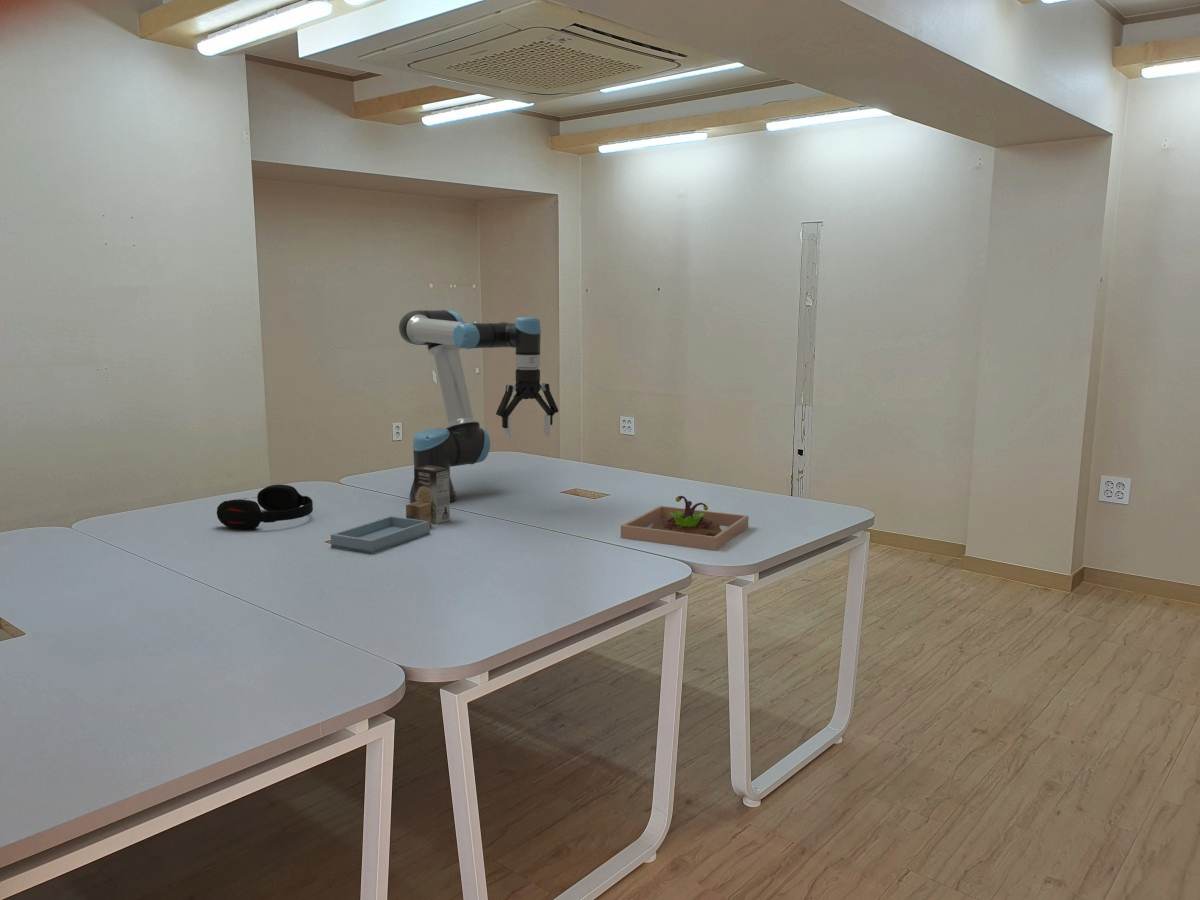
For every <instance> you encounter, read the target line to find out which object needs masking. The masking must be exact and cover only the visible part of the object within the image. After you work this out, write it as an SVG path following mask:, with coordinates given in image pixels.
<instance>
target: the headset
mask: <svg viewBox="0 0 1200 900" xmlns="http://www.w3.org/2000/svg"><path fill="white" fill-rule="evenodd" d="M257 493H258V494H257V496H256V497H253V498H254V499H256V500H257V502H256V501H255V500H250V499H248V497H245V498H243V499H242V498H237V499H229V500H225V501H224V500H223V501H222V502H221V503H219V505H218V506H217V507H216V517H217V519H218V520H219V522H220V523H221V524H222V525H223V526H225V527H226V528H228V529H230V530H234V531H253V530H255V529H256V528H259V526H260V524H261V523H276V522H279V521H280V522H281V521H290V520H296V519H300V518H304V517H307V516H309V515H311V514H312V513H313V511H314V506H313V502H314V501H313V499H312V498H311V497H309V496H307V495H301V494H300V493H299V492H298V490H297V489H296V488H295V487H294V486H291V485H288V484H273V485H267V486H266V487H264V488H263V489H261V490H259V492H257ZM261 508H262V509H263V510H265V511H262V510H261Z"/></svg>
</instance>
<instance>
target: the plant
mask: <svg viewBox="0 0 1200 900" xmlns="http://www.w3.org/2000/svg"><path fill="white" fill-rule="evenodd" d="M682 499H683V501H684V502H685V503H684V505H685V506H684V509H685V511H684V512H683V513H681V512H680V511H677V513H678V515H676V514H675V513H671V512H670V514H671V515H672V516H673V517H670V518H661V519H659V520H657V521H655V522H653V523H652V526H651V529H659V530H667V531H675V532H682V533H690V534H698V535H706V536H715V535H717V534H718V533H720V532H721V531H722V530H721V528H720V525H719V524H718V523H716V522H714V521H710V520H706V519H704V518H703V517H701V516H702V515H704V513H700V514H698V515H697V516H695V517H694V510H696V508H697V507H699V506H700V505H703V511H709V506H708V504H707V505H706V504H705V503H703V502H697V503H695V504H693V503H692V501H691V500H688V499H687V498H686V497H685V496H683V495H678V496H676V498H675V502H677V503H678V502H679V503H680V502H681V500H682ZM692 505H693V506H692Z"/></svg>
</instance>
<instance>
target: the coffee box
mask: <svg viewBox="0 0 1200 900" xmlns="http://www.w3.org/2000/svg"><path fill="white" fill-rule="evenodd" d="M413 471H414V472H413V475H414V476H413V481H414V486H415V502H424V503H431V524H434V525H435V524H436V525H438V524H442V523H445V522H447V521H450V520H451V513H450V512H451V509H450V508H451V504H450V503H451V502H450V488H449V468H443V467H437V466H431V465H426V466H422V467H418V468H414V467H413Z"/></svg>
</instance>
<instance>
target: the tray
mask: <svg viewBox="0 0 1200 900" xmlns="http://www.w3.org/2000/svg"><path fill="white" fill-rule="evenodd" d="M430 528H431V527H430V526H429V521H423V520H416V519H409V518H406V517H401V516H393V515H389V516H386V517H383V518H380V519H377V520H373V521H370V522H367V523H363V524H360V525H356V526H353V527H350V528H348V529H345V530H341V531H338V532H335V533H332V534H330V548H333V549H340V550H345V551H352V552H357V553H362V554H369V555H374V554H376V553H380V552H382V551H385V550H387V549H390V548H393V547H395V546H398V545H401V544H404V543H406V542H409V541H412V540H415V539H418V538H420V537H423V536H426V535H428V534H430V533H431V532H430Z"/></svg>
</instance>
